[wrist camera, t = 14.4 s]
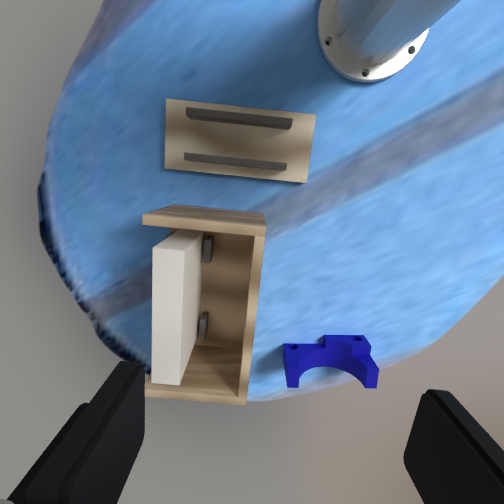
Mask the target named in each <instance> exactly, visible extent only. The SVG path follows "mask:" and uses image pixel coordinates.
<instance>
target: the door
mask: <svg viewBox="0 0 504 504" xmlns="http://www.w3.org/2000/svg"><path fill="white" fill-rule="evenodd" d="M204 235H205V231H201V230H191V229H179V230H178V231H177V232H175V233H174V234H172V235H171V236H169V237H168V238H166V239H165V240H163V241H162V242H160V243H159V244H157V245H156V246H154V247H153V269H152V377H151V383H158V384H169V385H180V382H181V380H182V377H183V374H184V371H185V369H186V366H187V363H188V360H189V358H190V355H191V352H192V349H193V347H194V344H195V341H196V338H197V336H198V333H199V323H200V305H201V288H202V270H203V252H204Z"/></svg>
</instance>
